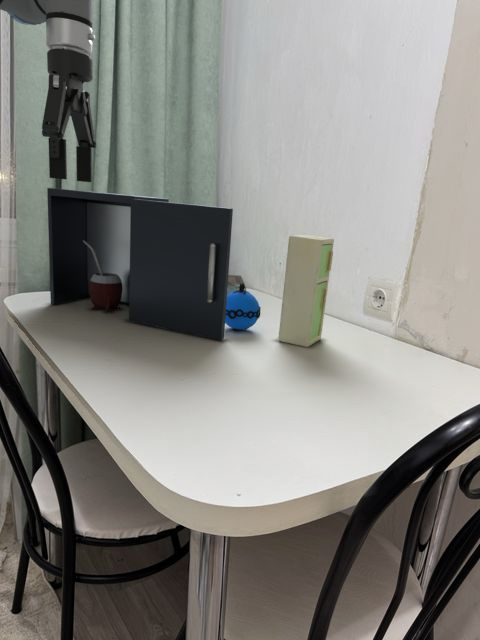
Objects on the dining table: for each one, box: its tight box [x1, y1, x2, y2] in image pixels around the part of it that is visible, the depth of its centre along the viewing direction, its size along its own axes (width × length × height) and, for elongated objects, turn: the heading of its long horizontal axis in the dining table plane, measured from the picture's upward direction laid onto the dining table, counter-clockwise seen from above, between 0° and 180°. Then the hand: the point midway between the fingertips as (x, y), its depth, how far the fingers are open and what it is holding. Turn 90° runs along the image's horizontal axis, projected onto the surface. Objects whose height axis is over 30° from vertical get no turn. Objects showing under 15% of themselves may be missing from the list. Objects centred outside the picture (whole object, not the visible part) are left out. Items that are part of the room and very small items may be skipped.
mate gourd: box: [83, 240, 123, 313], centre depth 113 cm, size 8×8×15 cm
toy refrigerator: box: [278, 234, 335, 348], centre depth 101 cm, size 8×7×21 cm
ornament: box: [225, 283, 261, 331], centre depth 107 cm, size 9×9×10 cm
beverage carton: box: [227, 274, 247, 295], centre depth 134 cm, size 8×19×7 cm, turn 6°
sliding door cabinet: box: [46, 187, 234, 341], centre depth 108 cm, size 45×15×26 cm, turn 66°
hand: (72, 180), depth 95 cm, fingers open, 13 cm apart
